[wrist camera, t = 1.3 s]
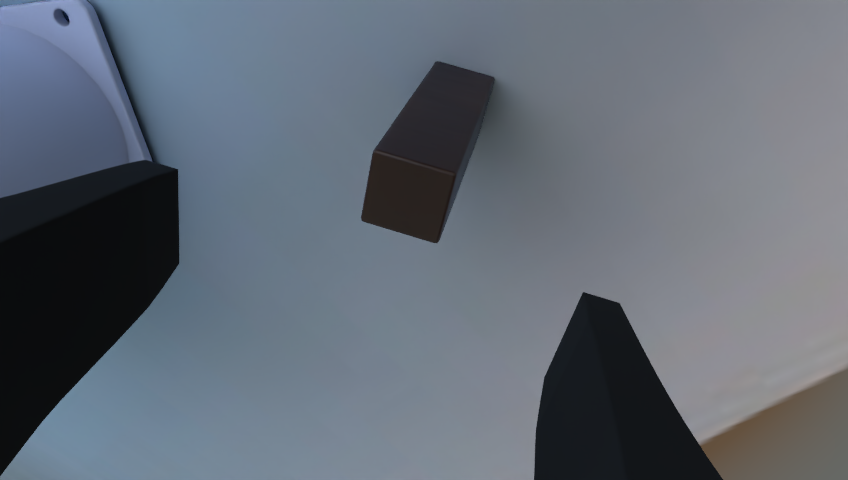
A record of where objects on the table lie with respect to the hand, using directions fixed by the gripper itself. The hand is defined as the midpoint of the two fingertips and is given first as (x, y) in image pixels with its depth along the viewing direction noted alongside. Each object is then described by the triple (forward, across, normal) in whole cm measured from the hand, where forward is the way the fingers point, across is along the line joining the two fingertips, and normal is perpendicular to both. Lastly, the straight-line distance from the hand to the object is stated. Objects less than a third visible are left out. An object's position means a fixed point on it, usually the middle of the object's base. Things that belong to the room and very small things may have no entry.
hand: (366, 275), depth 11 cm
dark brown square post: (+9, 0, 0) cm, 9 cm away
